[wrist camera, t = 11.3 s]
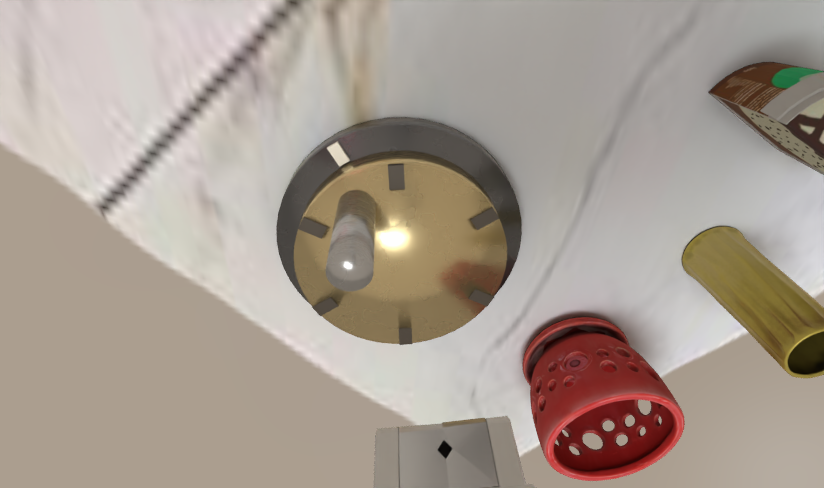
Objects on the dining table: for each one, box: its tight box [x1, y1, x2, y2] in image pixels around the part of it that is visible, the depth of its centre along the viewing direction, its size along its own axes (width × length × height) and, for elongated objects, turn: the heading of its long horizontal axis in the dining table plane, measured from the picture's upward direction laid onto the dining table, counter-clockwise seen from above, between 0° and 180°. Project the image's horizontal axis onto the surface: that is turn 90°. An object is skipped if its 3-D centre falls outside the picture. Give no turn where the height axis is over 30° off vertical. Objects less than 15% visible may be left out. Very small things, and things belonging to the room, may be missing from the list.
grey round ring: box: [277, 117, 522, 303], centre depth 45 cm, size 22×22×2 cm
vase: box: [682, 227, 824, 378], centre depth 43 cm, size 6×6×14 cm
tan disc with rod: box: [294, 151, 507, 345], centre depth 39 cm, size 18×18×12 cm
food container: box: [708, 62, 824, 175], centre depth 36 cm, size 12×6×10 cm, turn 57°
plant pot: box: [523, 317, 684, 481], centre depth 50 cm, size 13×13×12 cm
